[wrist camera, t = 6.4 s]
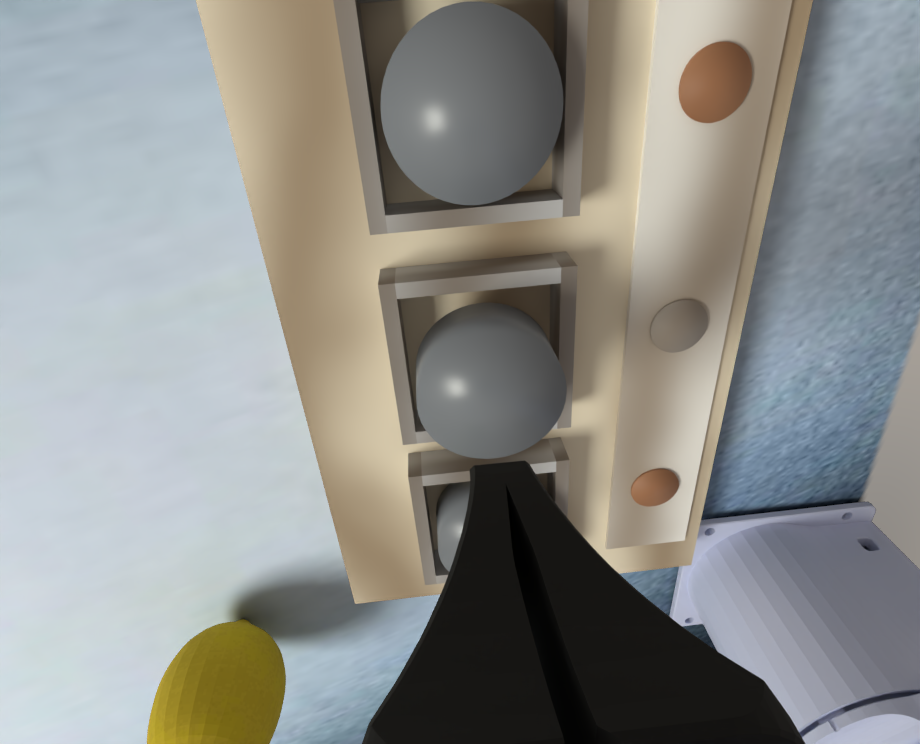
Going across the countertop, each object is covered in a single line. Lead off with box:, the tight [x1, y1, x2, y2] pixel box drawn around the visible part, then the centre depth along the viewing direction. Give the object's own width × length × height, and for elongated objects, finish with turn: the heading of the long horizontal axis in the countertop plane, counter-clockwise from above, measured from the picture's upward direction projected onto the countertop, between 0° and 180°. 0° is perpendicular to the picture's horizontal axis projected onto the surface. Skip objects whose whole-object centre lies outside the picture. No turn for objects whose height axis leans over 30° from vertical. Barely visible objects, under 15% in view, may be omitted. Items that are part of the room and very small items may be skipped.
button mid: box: [416, 303, 567, 459], centre depth 17 cm, size 4×4×2 cm
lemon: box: [147, 619, 286, 744], centre depth 25 cm, size 6×6×8 cm
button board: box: [196, 0, 813, 604], centre depth 19 cm, size 16×26×3 cm, turn 4°
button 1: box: [436, 481, 470, 571], centre depth 21 cm, size 4×4×2 cm
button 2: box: [380, 2, 563, 205], centre depth 14 cm, size 4×4×2 cm
